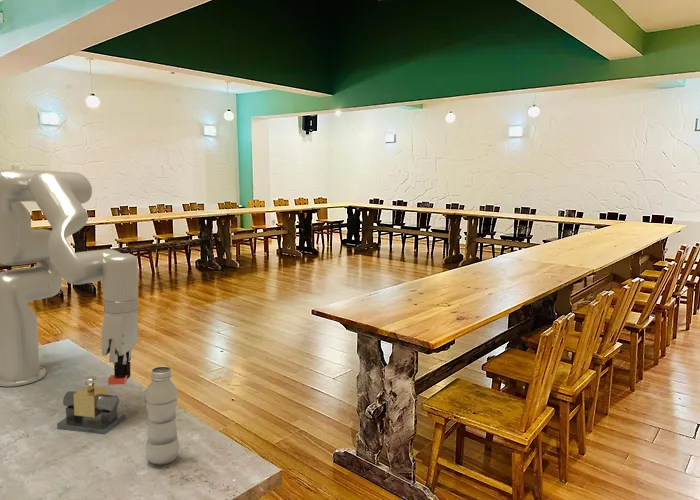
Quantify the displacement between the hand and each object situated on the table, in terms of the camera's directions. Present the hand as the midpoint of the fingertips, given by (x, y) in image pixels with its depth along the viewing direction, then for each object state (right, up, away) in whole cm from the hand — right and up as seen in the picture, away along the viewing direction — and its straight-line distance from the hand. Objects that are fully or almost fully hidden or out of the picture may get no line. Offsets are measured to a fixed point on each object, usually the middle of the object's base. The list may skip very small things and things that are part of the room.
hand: (122, 378), depth 119 cm
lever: (-2, 0, -3) cm, 4 cm away
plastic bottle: (+16, -13, -16) cm, 26 cm away
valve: (-6, -10, -3) cm, 12 cm away
